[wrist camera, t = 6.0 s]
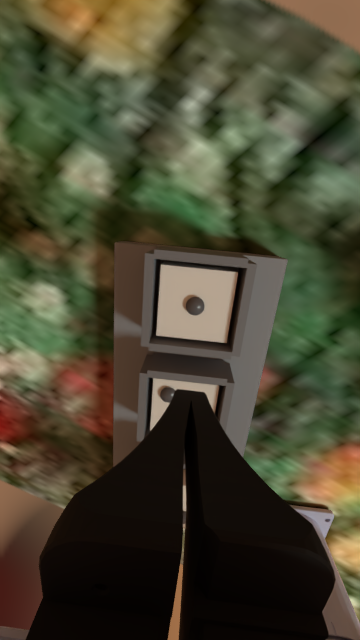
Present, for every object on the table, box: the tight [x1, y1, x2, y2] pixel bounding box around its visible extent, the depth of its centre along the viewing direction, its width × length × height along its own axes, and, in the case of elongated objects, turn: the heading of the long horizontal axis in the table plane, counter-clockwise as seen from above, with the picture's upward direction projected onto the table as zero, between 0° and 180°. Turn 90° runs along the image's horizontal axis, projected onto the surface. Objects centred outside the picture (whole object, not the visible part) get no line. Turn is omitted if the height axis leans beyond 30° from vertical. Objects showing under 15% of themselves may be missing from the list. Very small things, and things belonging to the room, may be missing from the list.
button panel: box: [113, 241, 288, 470], centre depth 20 cm, size 21×11×5 cm, turn 175°
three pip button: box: [150, 378, 219, 431], centre depth 19 cm, size 4×4×2 cm
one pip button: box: [156, 261, 238, 343], centre depth 16 cm, size 4×4×2 cm
